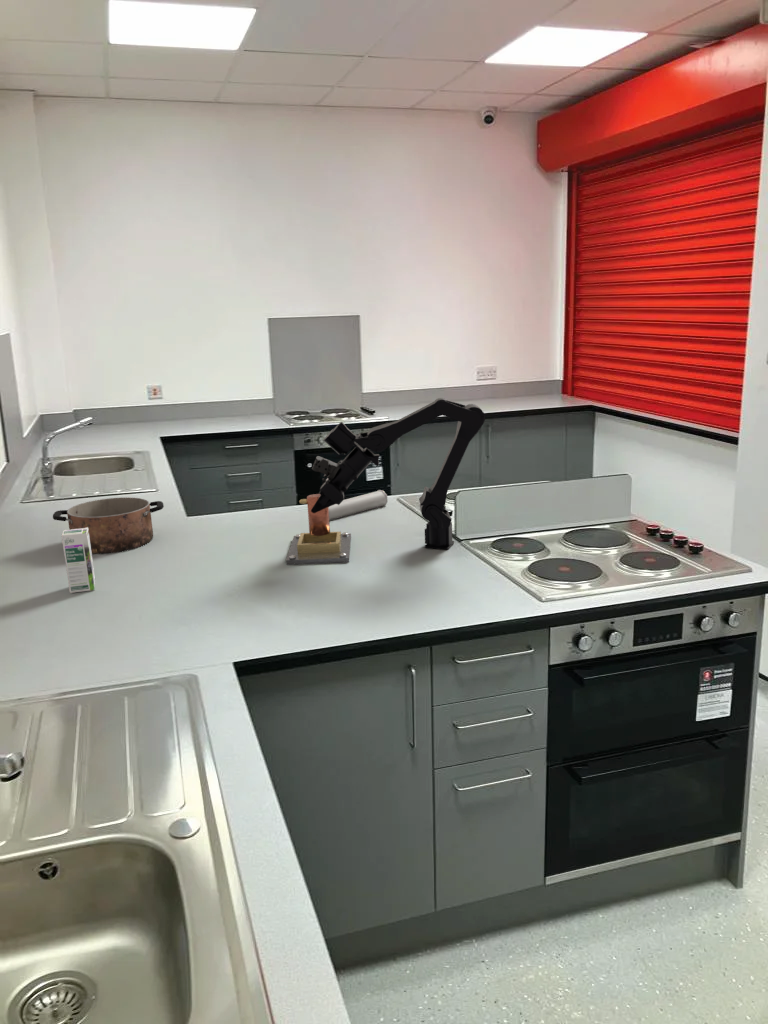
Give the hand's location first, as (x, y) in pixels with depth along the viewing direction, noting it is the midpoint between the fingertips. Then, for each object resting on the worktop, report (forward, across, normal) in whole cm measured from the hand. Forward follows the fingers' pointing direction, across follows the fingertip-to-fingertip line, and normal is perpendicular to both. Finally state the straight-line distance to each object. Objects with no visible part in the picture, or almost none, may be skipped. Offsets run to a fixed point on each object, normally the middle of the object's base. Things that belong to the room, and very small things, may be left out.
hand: (312, 509), depth 217 cm
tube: (+2, -38, +15) cm, 41 cm away
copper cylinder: (+4, 0, +5) cm, 7 cm away
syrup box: (+47, +23, -30) cm, 60 cm away
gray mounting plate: (+7, 0, +9) cm, 12 cm away
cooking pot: (+50, -16, -34) cm, 62 cm away
